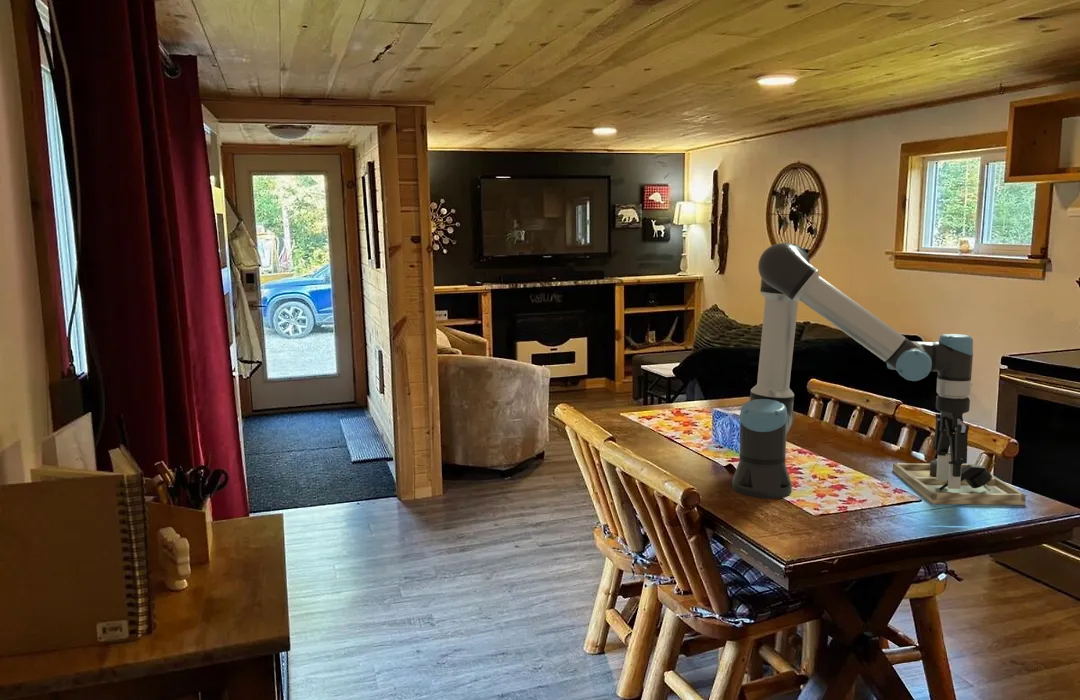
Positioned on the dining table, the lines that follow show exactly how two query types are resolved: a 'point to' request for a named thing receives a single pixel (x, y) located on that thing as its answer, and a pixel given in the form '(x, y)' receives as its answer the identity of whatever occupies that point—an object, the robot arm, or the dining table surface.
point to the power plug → (974, 476)
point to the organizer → (966, 494)
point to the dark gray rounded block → (933, 468)
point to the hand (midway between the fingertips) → (947, 483)
